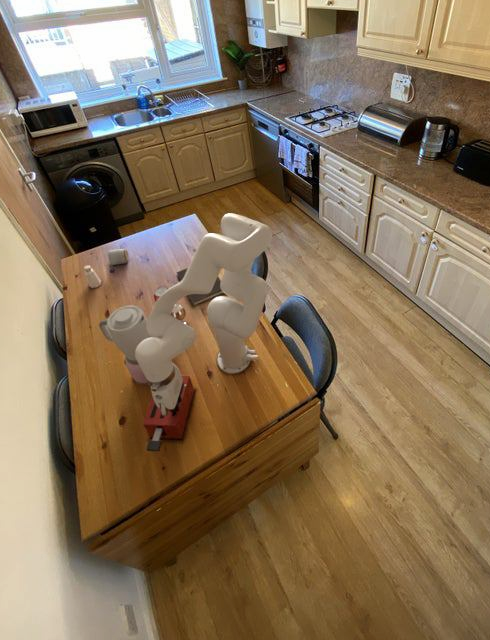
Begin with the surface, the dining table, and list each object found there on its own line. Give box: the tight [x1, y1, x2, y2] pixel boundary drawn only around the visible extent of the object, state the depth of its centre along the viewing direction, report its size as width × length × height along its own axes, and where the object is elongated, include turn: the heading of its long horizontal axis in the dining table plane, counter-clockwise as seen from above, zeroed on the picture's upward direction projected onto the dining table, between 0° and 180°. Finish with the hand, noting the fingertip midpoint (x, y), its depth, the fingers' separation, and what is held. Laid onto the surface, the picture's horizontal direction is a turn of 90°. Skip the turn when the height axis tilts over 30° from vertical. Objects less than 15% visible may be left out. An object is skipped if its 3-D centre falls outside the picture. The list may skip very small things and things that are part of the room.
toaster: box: [142, 374, 196, 441], centre depth 111 cm, size 10×16×10 cm, turn 177°
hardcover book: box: [176, 267, 225, 307], centre depth 161 cm, size 16×23×2 cm
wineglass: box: [170, 303, 189, 326], centre depth 139 cm, size 6×6×12 cm
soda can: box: [153, 285, 169, 303], centre depth 146 cm, size 7×7×12 cm
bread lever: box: [145, 428, 163, 452], centre depth 100 cm, size 4×6×1 cm, turn 178°
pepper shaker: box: [83, 264, 102, 289], centre depth 160 cm, size 5×5×11 cm
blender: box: [98, 304, 151, 386], centre depth 117 cm, size 16×12×32 cm
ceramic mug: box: [107, 248, 130, 266], centre depth 175 cm, size 11×8×8 cm
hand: (175, 405), depth 106 cm, fingers closed
